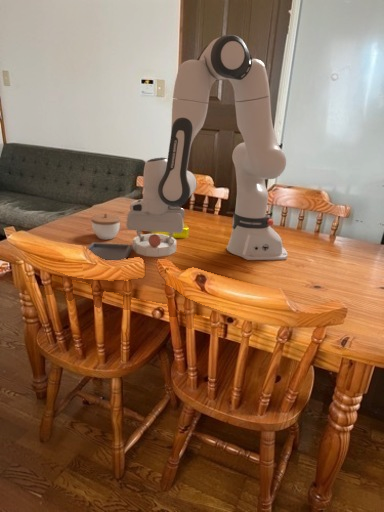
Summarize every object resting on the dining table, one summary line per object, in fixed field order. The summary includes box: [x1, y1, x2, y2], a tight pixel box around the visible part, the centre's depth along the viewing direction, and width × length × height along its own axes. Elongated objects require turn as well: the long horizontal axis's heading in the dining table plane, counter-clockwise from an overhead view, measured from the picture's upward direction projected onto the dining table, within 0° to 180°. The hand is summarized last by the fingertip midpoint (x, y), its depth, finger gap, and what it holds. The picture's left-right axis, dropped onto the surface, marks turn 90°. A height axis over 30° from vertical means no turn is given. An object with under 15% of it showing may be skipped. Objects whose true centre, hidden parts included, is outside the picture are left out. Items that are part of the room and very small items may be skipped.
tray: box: [87, 241, 133, 260], centre depth 119 cm, size 14×14×2 cm
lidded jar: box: [90, 213, 121, 241], centre depth 135 cm, size 11×11×9 cm
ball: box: [149, 234, 161, 247], centre depth 127 cm, size 5×5×5 cm
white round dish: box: [132, 233, 177, 258], centre depth 128 cm, size 16×16×3 cm
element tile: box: [147, 221, 190, 240], centre depth 145 cm, size 15×15×5 cm
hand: (154, 242), depth 127 cm, fingers open, 8 cm apart
